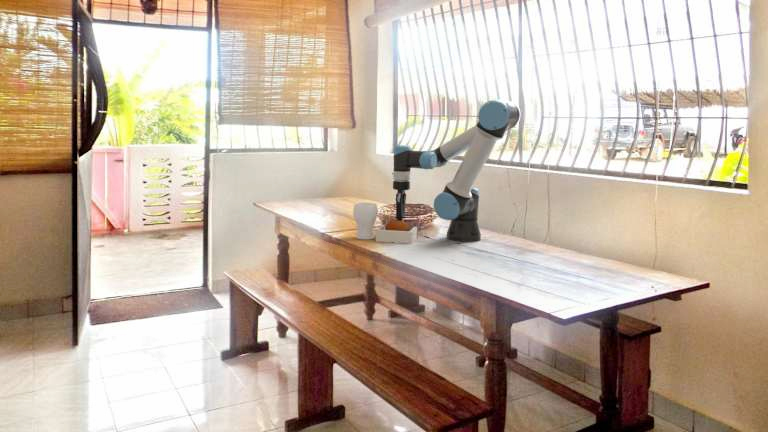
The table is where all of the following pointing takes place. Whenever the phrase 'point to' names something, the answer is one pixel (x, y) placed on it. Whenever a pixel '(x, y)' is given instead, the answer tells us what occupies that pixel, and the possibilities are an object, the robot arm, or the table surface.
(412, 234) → the frame
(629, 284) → the table surface
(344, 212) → the table surface
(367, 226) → the cup
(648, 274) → the table surface
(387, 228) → the fruit
